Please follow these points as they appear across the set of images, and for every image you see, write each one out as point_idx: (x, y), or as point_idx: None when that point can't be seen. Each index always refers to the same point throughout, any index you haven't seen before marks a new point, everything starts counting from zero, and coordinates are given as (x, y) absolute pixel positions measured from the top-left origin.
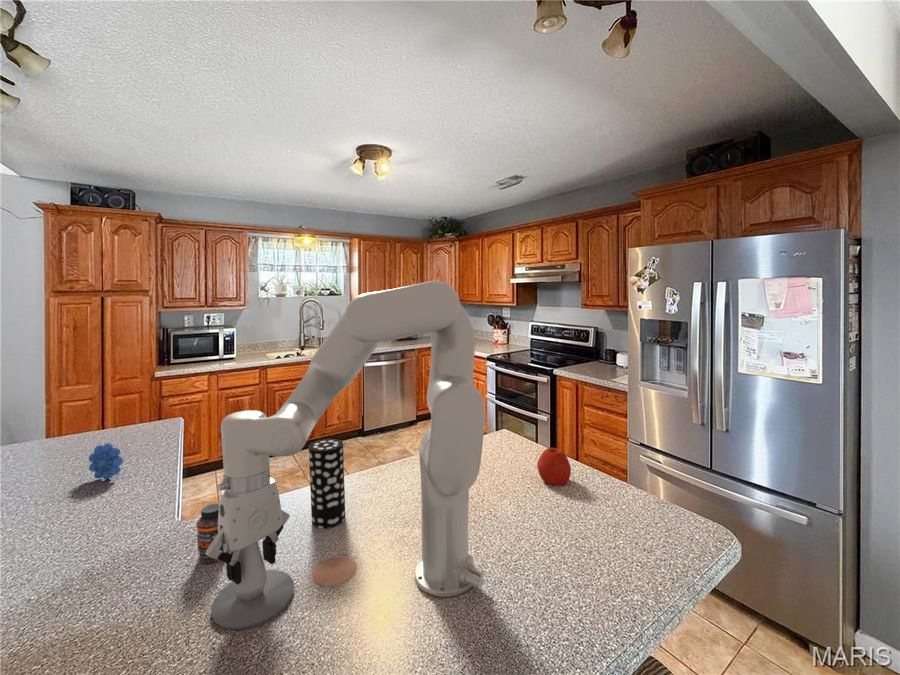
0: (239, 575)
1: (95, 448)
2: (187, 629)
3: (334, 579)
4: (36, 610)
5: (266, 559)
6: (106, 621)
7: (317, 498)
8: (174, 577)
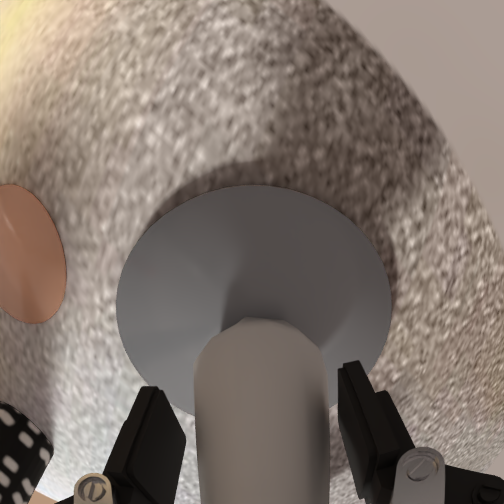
0: (361, 391)
1: None
2: (430, 332)
3: (20, 217)
4: (475, 471)
5: (176, 426)
6: (469, 428)
7: (5, 484)
8: (354, 483)
